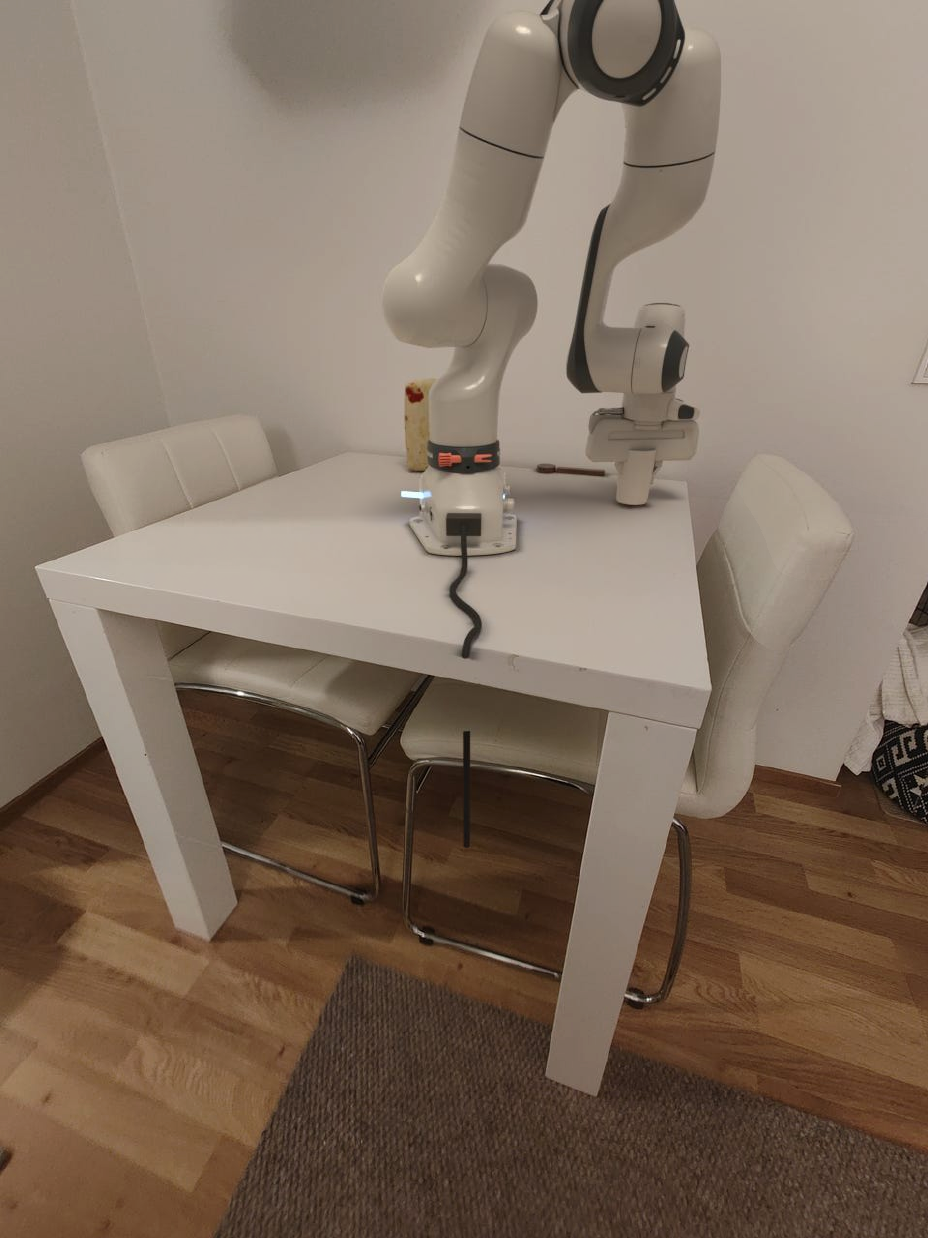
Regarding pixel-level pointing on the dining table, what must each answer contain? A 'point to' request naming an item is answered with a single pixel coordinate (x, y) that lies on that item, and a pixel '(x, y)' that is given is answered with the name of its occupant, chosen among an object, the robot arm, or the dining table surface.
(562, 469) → the wooden spoon
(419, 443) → the food model
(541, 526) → the dining table surface
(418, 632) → the dining table surface
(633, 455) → the white cup
